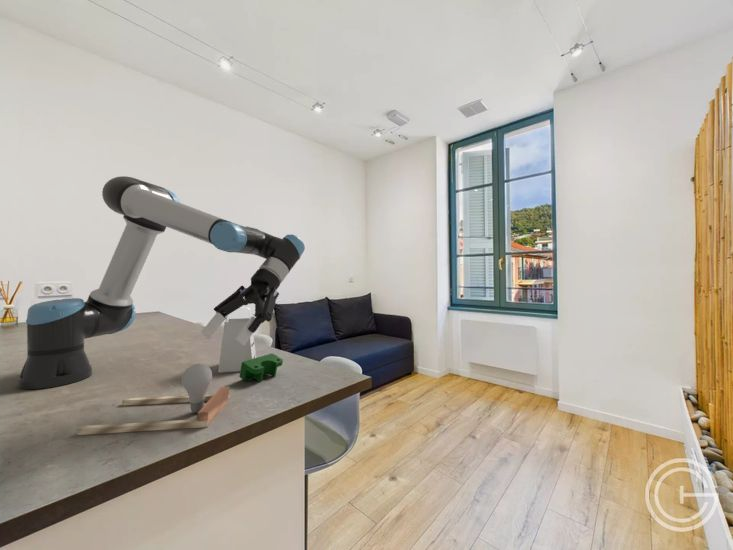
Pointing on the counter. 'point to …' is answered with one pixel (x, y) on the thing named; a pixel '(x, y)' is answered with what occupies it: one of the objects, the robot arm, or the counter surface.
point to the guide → (203, 420)
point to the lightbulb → (197, 384)
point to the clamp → (260, 367)
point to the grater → (235, 345)
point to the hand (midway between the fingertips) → (221, 339)
